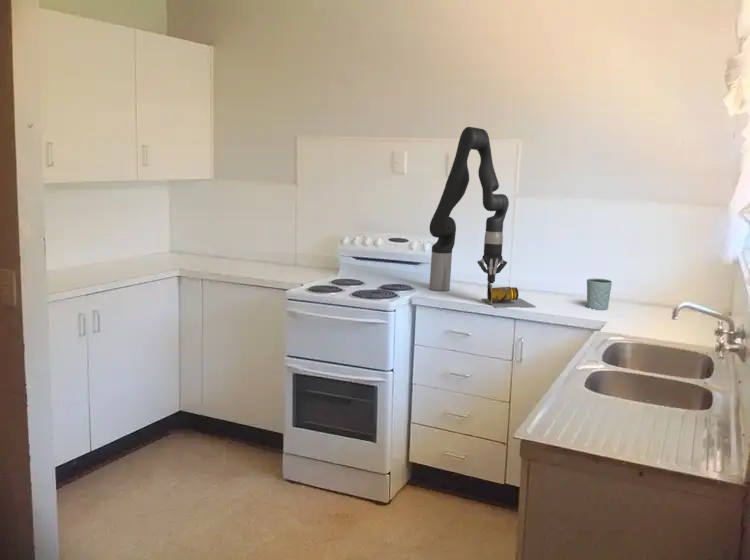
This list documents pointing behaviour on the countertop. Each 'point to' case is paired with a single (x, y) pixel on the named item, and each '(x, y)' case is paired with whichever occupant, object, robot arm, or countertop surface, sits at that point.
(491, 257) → the robot arm
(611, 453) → the countertop surface
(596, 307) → the green embossed plant pot
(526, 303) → the mat
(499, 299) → the condiment
